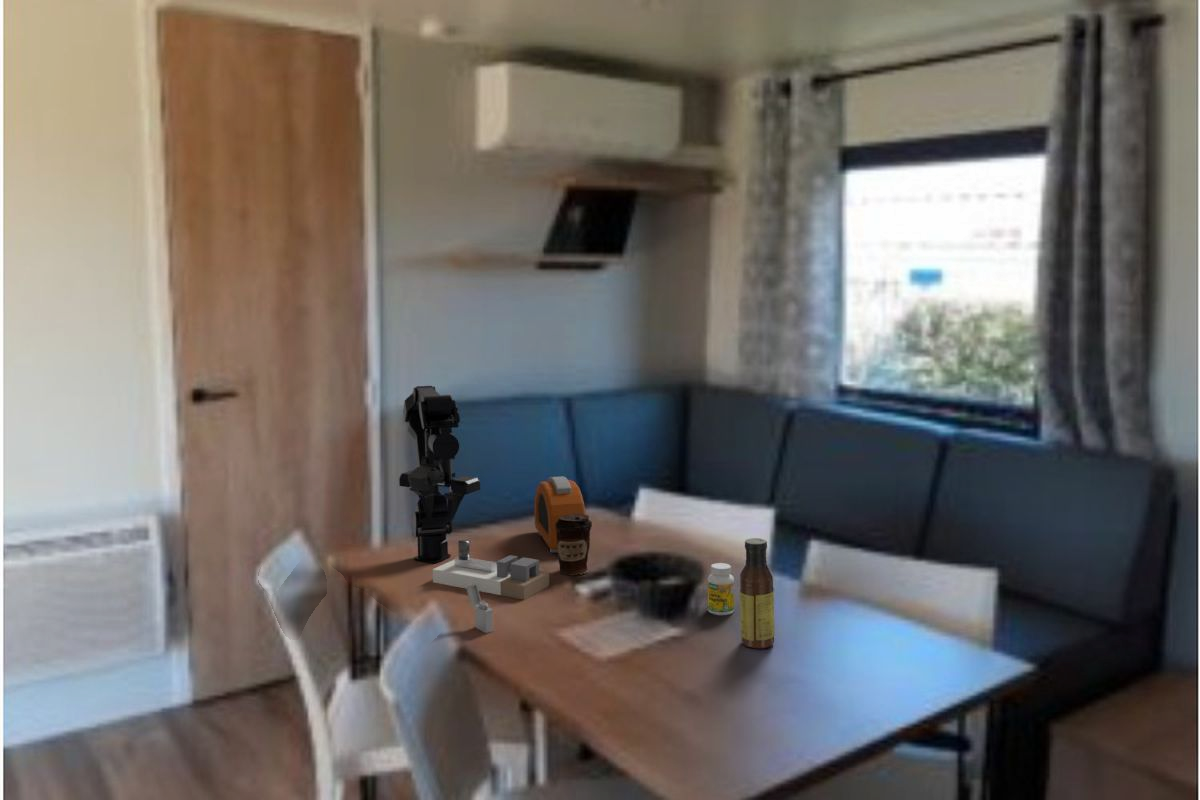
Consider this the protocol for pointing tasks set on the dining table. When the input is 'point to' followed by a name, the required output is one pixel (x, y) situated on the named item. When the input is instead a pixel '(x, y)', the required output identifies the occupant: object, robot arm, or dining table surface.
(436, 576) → the door lock board
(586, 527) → the coffee cup
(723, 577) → the supplement bottle
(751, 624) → the sauce bottle
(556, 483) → the orange tape measure
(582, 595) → the dining table surface
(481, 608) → the lighter
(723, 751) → the dining table surface
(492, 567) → the bolt
